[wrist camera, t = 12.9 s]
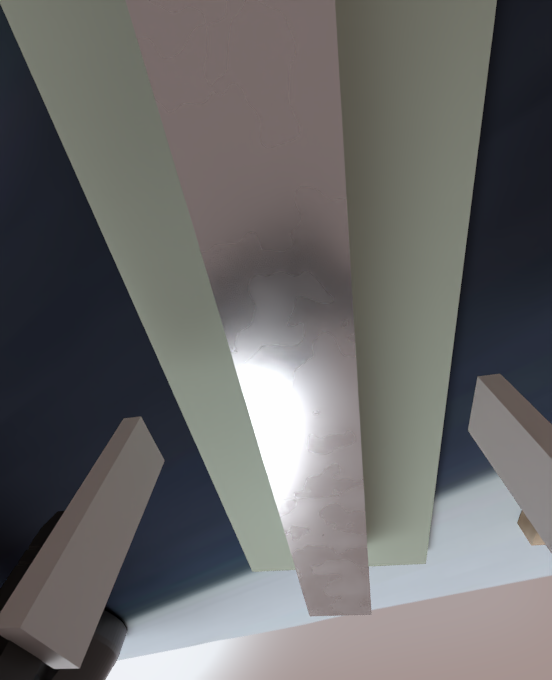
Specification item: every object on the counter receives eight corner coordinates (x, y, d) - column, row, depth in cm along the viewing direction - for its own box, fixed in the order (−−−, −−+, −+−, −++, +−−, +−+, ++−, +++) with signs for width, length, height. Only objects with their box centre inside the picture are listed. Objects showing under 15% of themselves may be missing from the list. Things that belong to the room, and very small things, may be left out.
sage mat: (421, 552, 25) (425, 563, 24) (253, 561, 27) (252, 571, 26) (554, -649, 5) (594, -771, 5) (-125, -326, 7) (-170, -379, 6)
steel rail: (359, 547, 23) (371, 614, 20) (306, 550, 24) (309, 616, 20) (288, -275, 7) (289, -751, 3) (118, -209, 7) (-43, -559, 4)
